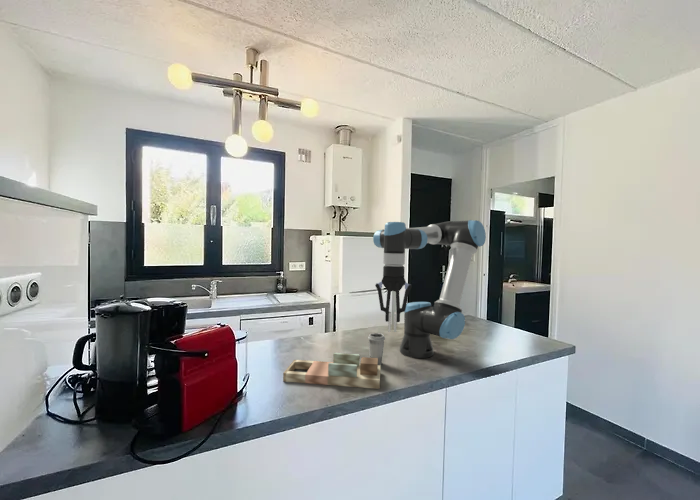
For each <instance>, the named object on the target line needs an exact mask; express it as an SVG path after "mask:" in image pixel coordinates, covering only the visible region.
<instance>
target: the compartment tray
mask: <svg viewBox="0 0 700 500" xmlns="http://www.w3.org/2000/svg"><path fill="white" fill-rule="evenodd" d="M332 356H333V358H332V359H333V360H332V361H320V360H319V361H318V360H308V359H307V360H305V359H293V360H292V361H291V363H289V365H288V367H287V368H286V369H285V370H284V371H283V374H282V375H283V377H282V378H283V379H282V381H283V382H287V383H300V384H311V385H324V386H325V385H326V386H338V387H351V388H365V389H377V390H378V389H380V384H381V365H378V370H377V376H375V375H361V374H360V363H361V359H360V356H361V355H360V354H359V353H342V352H341V353H340V352H333V355H332Z"/></svg>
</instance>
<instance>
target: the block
mask: <svg viewBox="0 0 700 500" xmlns="http://www.w3.org/2000/svg"><path fill="white" fill-rule="evenodd" d="M377 370H378V358H370V357H367V356H366V357H365V356H363V357H361V359H360V374H361V375H375V376H377Z"/></svg>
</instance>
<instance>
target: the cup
mask: <svg viewBox="0 0 700 500" xmlns="http://www.w3.org/2000/svg"><path fill="white" fill-rule="evenodd" d="M367 339H368V349H369V350H368V352H369V354H368V355H369V358H378V365H380V366H382V364H383V357H384V356H383V355H384V346H385V341H386V337H385V335H384V334H383V333H379V332H372V333H369V335H368V336H367Z"/></svg>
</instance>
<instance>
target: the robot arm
mask: <svg viewBox="0 0 700 500" xmlns="http://www.w3.org/2000/svg"><path fill="white" fill-rule="evenodd" d="M486 234H487V233H486V230H485V227H484V225H483V223H482V222H481V221H480V220H474V219H473V220H472V219H469V220H453V221H452V220H450V221H444V222H443V221H442V222H438V223H432V224H429V225H427V226H421V227H419V226H418V227H406V223H405V222H402V221H388V222H385V224H384V229H379V230H376V231H375V232H374V234H373V236H372V238H373V239H372V240H373V241H372V242H373V244H374V246H375V247H377V248H381V249H383V262H382V263H383V264H384V265H383V268H382V270H383V271H382V278H381V281H379V282H376V283H375V284H374V285H375V288H376V290H377V294H378V300H379V308H380V311H381V312H384V314H385V319H384V321H385V322H387V323H388V328H387V329H388V330H387V331H388V332H391V330H392V329H391V323H392V321H391V320H392V312H391V311H390V306H391V305H390V304H391V296H392V295H391V293H392V292H395V306H396V311H394V313H393V316H394V321H393V332H394V333H397V327H398V326H397V323H400V322H401V313H403V314H404V324H403V325H404V326H403V327H404V330H403V332H404V333H403V337H402V340H401V343H400V346H399V352H400V353H401V354H402V355H404V356H406V357H409V358H415V359H426V358H432V357H433V356H434V353H435V351H434V350H435V349H434V346H433V342H432V340H431V335H433V336H436V337H440V338H442V339H448V340H455V339H457V338H458V337H460V335H462V333H463V331H464V329H465V324H466V321H465V320H466V317H465V315H464V314H463V313H462V311H463V308H462V307H461V306H460V304H461V300H462V298H463V297H462V296H463V294H464V293H463V292H464V289H465V285H466V281H467V276H468V273H469V269H470V265H471V261H472V257H473V255H474V254H476V253H477V251H478V248H479V247H482V246H484V245H485V242H486V240H487V239H486V238H487V237H486ZM427 244H430V245H443V246H449V247H450V248H451V249H452V252H451V255H450V259H449V262H448V265H447V269H446V274H445V277H444V280H443V284H442V287H441V292H440V295H439V299H437V300H436V301H434V303H433V306H432V303H431V302H429V301H412V302H408V300H409V294H410V291H411V290H412V288H413V287H412V284H410V283H408V282H407V281H406V278H405V267H404V265H405V263H406V255H405V254H406V250H420V249H423V248H425V247H426V245H427ZM383 287H384V288H385V290H386V300H385V301H386V302H385V303H384V297H383V291H382V288H383ZM403 287H404V289H405V290H404V296H403V299H402V300H403V301H402V304H401V305H400V303H401V300H400V291H401V290H402V288H403ZM384 304H385V305H384Z"/></svg>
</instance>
